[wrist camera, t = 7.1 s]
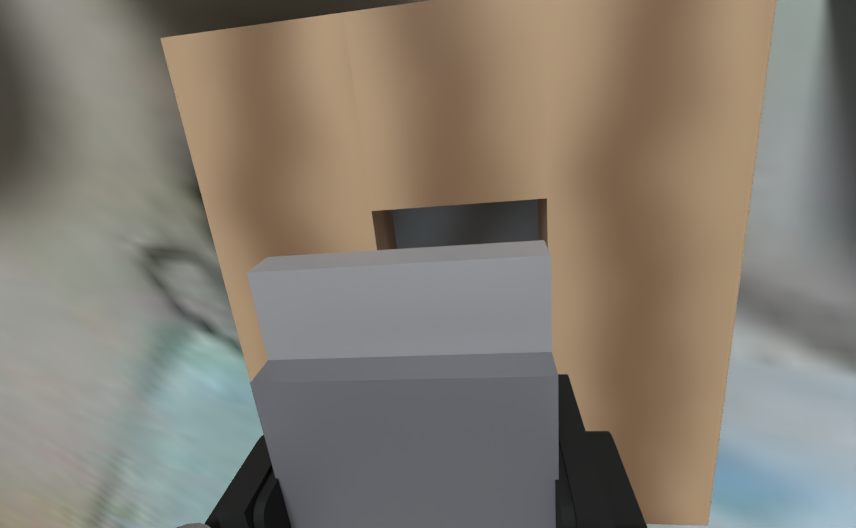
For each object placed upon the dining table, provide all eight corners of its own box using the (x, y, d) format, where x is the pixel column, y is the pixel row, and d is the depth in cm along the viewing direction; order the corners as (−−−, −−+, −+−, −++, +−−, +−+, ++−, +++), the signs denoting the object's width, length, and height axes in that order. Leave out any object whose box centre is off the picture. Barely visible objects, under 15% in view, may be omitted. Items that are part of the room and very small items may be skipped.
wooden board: (718, -17, 17) (782, -50, 13) (673, 459, 24) (708, 525, 20) (221, 49, 20) (160, 38, 16) (312, 455, 27) (285, 512, 23)
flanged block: (525, 197, 11) (558, 271, 6) (534, 520, 15) (559, 720, 10) (326, 211, 12) (225, 289, 7) (380, 517, 15) (335, 704, 11)
